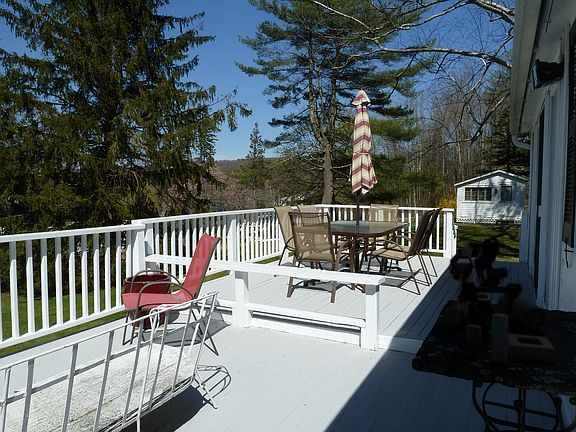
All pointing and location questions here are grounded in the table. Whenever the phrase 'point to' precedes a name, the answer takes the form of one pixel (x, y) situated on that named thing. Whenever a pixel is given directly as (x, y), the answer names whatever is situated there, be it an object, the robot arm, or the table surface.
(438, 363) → the table surface
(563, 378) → the table surface
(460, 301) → the soda can
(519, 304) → the dark curved piece
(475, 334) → the short peg
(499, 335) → the long peg
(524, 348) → the socket block
